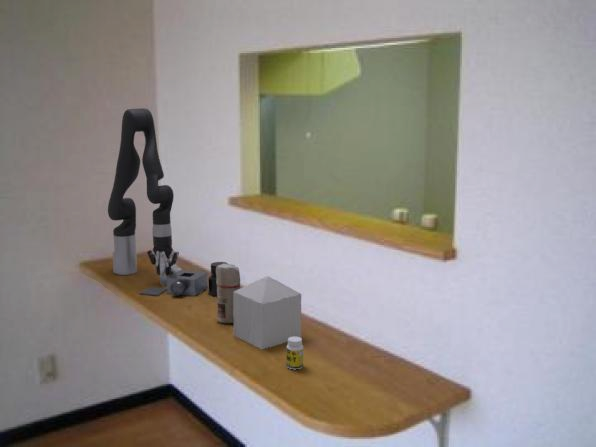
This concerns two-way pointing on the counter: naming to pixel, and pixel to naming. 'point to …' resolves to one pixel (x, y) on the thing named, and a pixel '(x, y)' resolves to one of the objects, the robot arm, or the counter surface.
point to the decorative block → (266, 313)
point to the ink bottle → (214, 278)
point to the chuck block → (187, 282)
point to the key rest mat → (153, 291)
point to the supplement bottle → (294, 353)
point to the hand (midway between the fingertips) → (163, 274)
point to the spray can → (226, 291)
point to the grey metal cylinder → (162, 270)
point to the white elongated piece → (175, 268)
